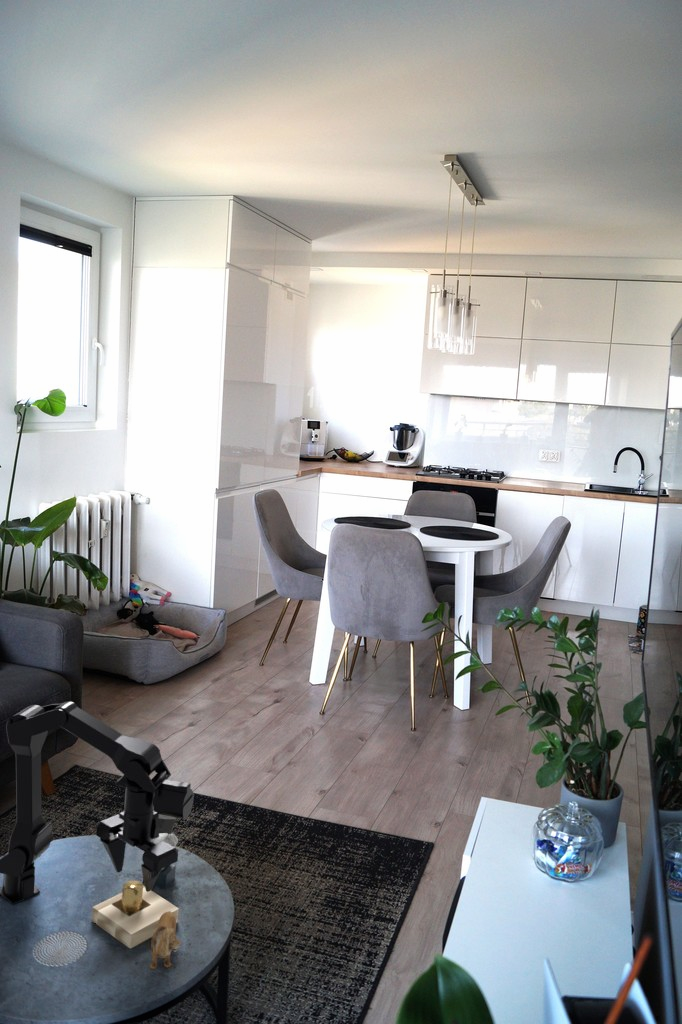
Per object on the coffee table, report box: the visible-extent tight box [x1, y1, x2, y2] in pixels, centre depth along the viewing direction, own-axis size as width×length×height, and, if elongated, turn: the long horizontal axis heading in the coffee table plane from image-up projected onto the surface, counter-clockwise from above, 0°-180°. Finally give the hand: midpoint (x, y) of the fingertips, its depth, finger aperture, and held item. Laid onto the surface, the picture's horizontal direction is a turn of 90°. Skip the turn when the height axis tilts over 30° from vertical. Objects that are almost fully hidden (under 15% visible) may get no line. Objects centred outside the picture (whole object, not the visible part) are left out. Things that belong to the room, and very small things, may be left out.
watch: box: [142, 832, 179, 889], centre depth 188 cm, size 6×8×11 cm
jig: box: [91, 885, 180, 949], centre depth 173 cm, size 12×12×3 cm
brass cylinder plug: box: [121, 880, 144, 916], centre depth 174 cm, size 4×4×7 cm
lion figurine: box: [149, 911, 182, 970], centre depth 164 cm, size 15×5×9 cm, turn 13°
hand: (133, 881), depth 173 cm, fingers open, 9 cm apart
